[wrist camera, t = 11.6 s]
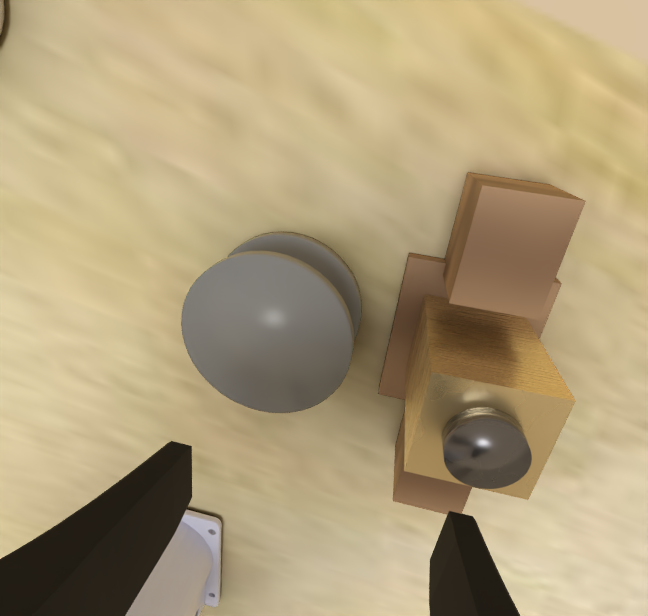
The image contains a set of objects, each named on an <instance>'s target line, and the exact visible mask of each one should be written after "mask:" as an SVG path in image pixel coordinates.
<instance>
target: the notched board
mask: <svg viewBox="0 0 648 616" xmlns="http://www.w3.org/2000/svg"><path fill="white" fill-rule="evenodd" d="M584 204H585V201H584V200H582V199H580V198H578V197H576V196H573V195H571V194H569V193H567V192H565V191H563V190H560V189H558V188H556V187H554V186H552V185H549V184H542V183H536V182H529V181H522V180H515V179H509V178H502V177H495V176H489V175H482V174H475V173H467V177H466V181H465V185H464V189H463V192H462V196H461V200H460V204H459V207H458V211H457V215H456V219H455V223H454V226H453V230H452V234H451V238H450V241H449V245H448V249H447V253H446V257H445V259H442V258H436V257H430V256H424V255H419V254H413V253H409V255H408V260H407V264H406V269H405V273H404V278H403V282H402V287H401V291H400V296H399V300H398V305H397V309H396V314H395V318H394V323H393V327H392V332H391V336H390V341H389V345H388V350H387V354H386V358H385V363H384V367H383V372H382V376H381V381H380V385H379V393H378V394H381V395H386V396H390V397H395V398H399V399H404V400H405V383H406V369H407V365H408V361H409V357H410V352H411V348H412V344H413V340H414V336H415V332H416V328H417V324H418V320H419V316H420V311H421V307H422V303H423V299H424V295H425V294H426V295H432V296H438V297H443V298H448V301H449V303H451V304H457V305H462V306H467V307H473V308H478V309H483V310H489V311H494V312H499V313H505V314H510V315H516V316H521V317H526V318H527V320H528V322H529V323H530V325H531V327H532V328H533V330H534V332H535V334H536V335H537V337H538V339H539V338H540V336H541V333H542V331H543V328H544V326H545V324H546V321H547V319H548V316H549V314H550V311H551V309H552V306H553V304H554V301H555V299H556V297H557V294H558V292H559V289H560V287H561V283H560V281H559V280H558V279H556V278H555V277H556V274H557V272H558V269H559V267H560V264H561V262H562V259H563V257H564V254H565V252H566V249H567V247H568V244H569V242H570V239H571V237H572V234H573V232H574V229H575V227H576V224H577V222H578V219H579V216H580V214H581V211H582V209H583V206H584ZM404 452H405V412H404V415H403V419H402V423H401V427H400V430H399V434H398V438H397V442H396V446H395V466H394V489H393V501H395V502H399V503H403V504H407V505H411V506H415V507H419V508H423V509H427V510H432V511H436V512H440V513H444V514H448V512H449V511H453V512H457V513H461V514H462V511H463V509H464V506H465V504H466V501H467V499H468V496H469V494H470V491H471V489H472V487H471V486H467V485H462V484H458V483H454V482H449V481H445V480H441V479H436V478H432V477H428V476H423V475H419V474H415V473H410V472H406V471H404Z"/></svg>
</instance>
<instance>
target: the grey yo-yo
mask: <svg viewBox="0 0 648 616" xmlns="http://www.w3.org/2000/svg"><path fill="white" fill-rule="evenodd" d="M361 312H362V303H361V296H360V291H359V288H358V285H357V282H356V280H355V278H354V276H353V274H352V272H351V271H350V269H349V267H348V266H347V265H346V263H345V262H344V261H343V260H342V259H341V258H340V257H339V256H338V255H337V254H336V253H335V252H334V251H333V250H332V249H330V248H329V247H327V246H326V245H325V244H323V243H321V242H319V241H317V240H315V239H313V238H310V237H308V236H305V235H301V234H297V233H290V232H272V233H266V234H263V235H259V236H256V237H254V238H252V239H250V240H248V241H246V242H245V243H243V244H242V245H240V246H239V247H238V248H236V249H235V250H234V251H233V252H232V253H231V254H230V255H228V256H227V258H225V259H223V260H221V261H219V262H218V263H216V264H215V265H213V266H212V267H211V268H209V269H208V270H207V271H205V272H204V273H203V274H202V275H201V276H200V277H199V278H198V279H197V280H196V281H195V283H194V284H193V285H192V287H191V288H190V290H189V292H188V294H187V296H186V299H185V302H184V305H183V310H182V320H181V326H182V335H183V339H184V343H185V346H186V349H187V351H188V354H189V356H190V358H191V360H192V362H193V363H194V365H195V366H196V368H197V369H198V371H199V372H200V373H201V375H202V376H203V377H204V378H205V379H206V380H207V381H208V382H209V383H210V384H211V385H212V386H213V387H214V388H215V389H217V390H218V391H219V392H220V393H222V394H223V395H225V396H226V397H228V398H229V399H231V400H233V401H235V402H237V403H239V404H241V405H244V406H246V407H249V408H252V409H255V410H259V411H265V412H272V413H290V412H296V411H301V410H304V409H308V408H310V407H313V406H315V405H317V404H319V403H321V402H322V401H324V400H325V399H327V398H328V397H329V396H330V395H331V394H333V393H334V391H335V390H336V389H337V388H338V387H339V386H340V384H341V383H342V381H343V379H344V378H345V376H346V373H347V371H348V369H349V365H350V361H351V357H352V353H353V347H354V340H355V338H356V335H357V332H358V328H359V324H360V320H361Z"/></svg>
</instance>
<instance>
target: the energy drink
mask: <svg viewBox="0 0 648 616" xmlns="http://www.w3.org/2000/svg"><path fill="white" fill-rule="evenodd" d="M3 24H4V0H0V35H1V33H2V29H3Z"/></svg>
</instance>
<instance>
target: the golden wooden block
mask: <svg viewBox="0 0 648 616" xmlns="http://www.w3.org/2000/svg"><path fill="white" fill-rule="evenodd" d="M574 403H575V399H574V398H573V396H572V394H571V393H570V391H569V389H568V388H567V386H566V384H565V382H564V381H563V379H562V377H561V376H560V374H559V372H558V371H557V369H556V367H555V366H554V364H553V362H552V361H551V359H550V357H549V355H548V354H547V352H546V350H545V349H544V347H543V345H542V344H541V342H540V340H539V339H538V337H537V335H536V334H535V332H534V330H533V328H532V327H531V325H530V323H529V322H528V320H527V318H526V317H521V316H516V315H510V314H505V313H499V312H494V311H489V310H483V309H478V308H473V307H467V306H462V305H457V304H451V303H449V301H448V298H443V297H438V296H432V295H426V294H425V295H424V299H423V303H422V307H421V311H420V316H419V320H418V324H417V328H416V332H415V336H414V340H413V344H412V348H411V352H410V357H409V361H408V365H407V369H406V383H405V452H404V471H406V472H410V473H415V474H419V475H423V476H428V477H432V478H436V479H441V480H445V481H449V482H454V483H458V484H462V485H467V486H471V487H475V488H480V489H484V490H488V491H493V492H497V493H501V494H506V495H510V496H514V497H519V498H523V499H527V500H528V499H529V497H530V495H531V493H532V491H533V489H534V487H535V485H536V482H537V480H538V478H539V476H540V474H541V472H542V470H543V468H544V466H545V464H546V462H547V459H548V457H549V455H550V453H551V451H552V449H553V447H554V445H555V443H556V441H557V439H558V437H559V434H560V432H561V430H562V428H563V426H564V424H565V422H566V420H567V418H568V416H569V414H570V411H571V409H572V407H573V405H574Z"/></svg>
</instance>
